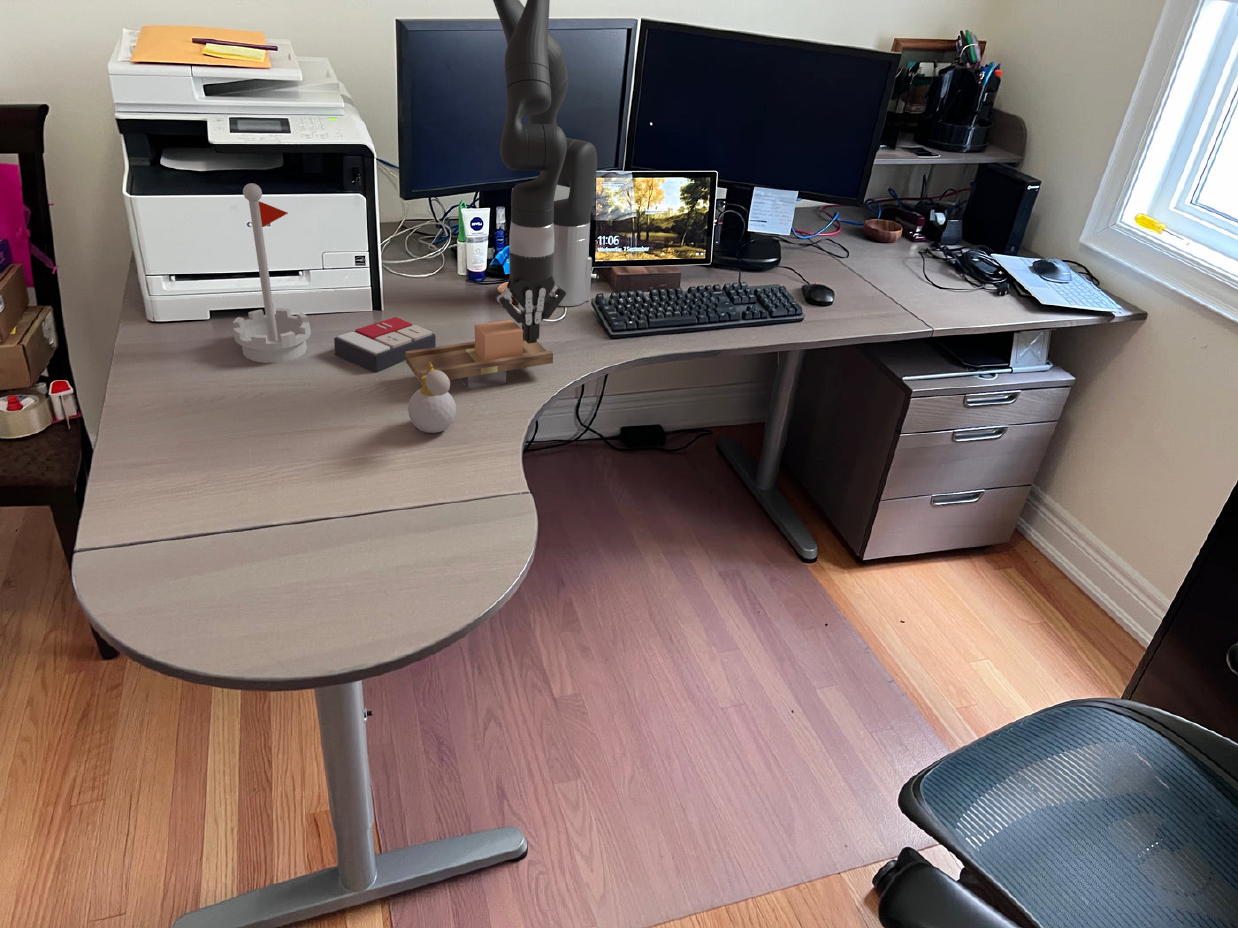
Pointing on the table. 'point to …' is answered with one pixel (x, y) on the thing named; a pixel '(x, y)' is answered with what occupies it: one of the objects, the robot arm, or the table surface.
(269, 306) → the flag stand
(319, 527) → the table surface
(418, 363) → the beam
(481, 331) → the block
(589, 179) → the robot arm
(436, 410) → the perfume bottle
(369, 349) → the calculator
